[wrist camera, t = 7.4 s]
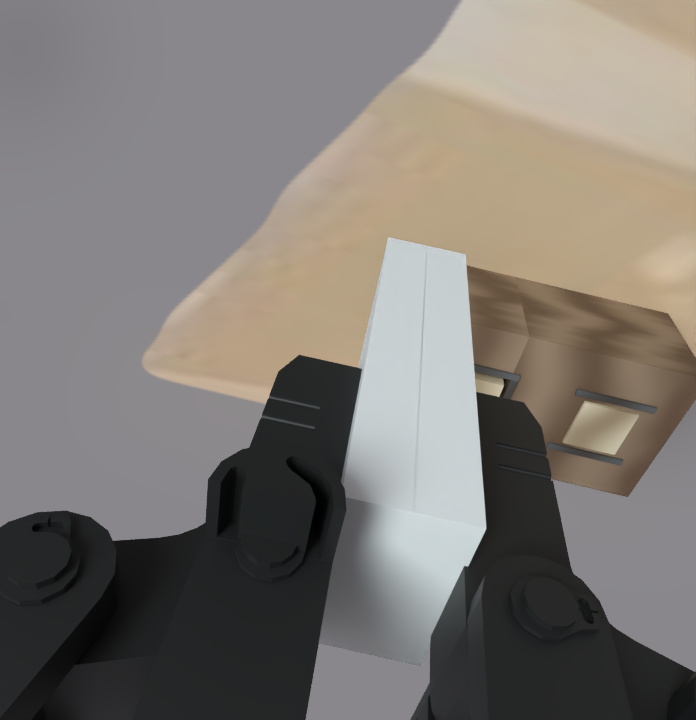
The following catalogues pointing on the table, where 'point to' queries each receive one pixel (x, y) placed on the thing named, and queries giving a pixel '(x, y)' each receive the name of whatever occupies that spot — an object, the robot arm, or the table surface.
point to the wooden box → (584, 374)
